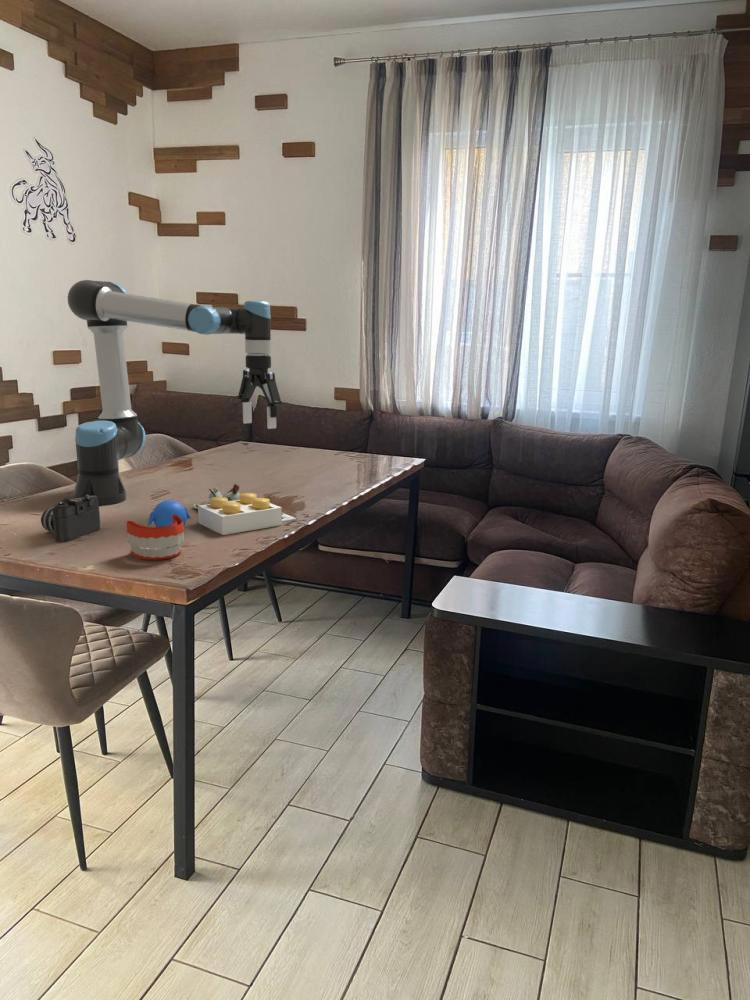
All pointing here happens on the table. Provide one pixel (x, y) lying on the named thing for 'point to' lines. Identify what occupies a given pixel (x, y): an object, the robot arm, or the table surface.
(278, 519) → the button board
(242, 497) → the button far right
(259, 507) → the button near right
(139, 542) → the toy
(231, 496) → the toy dog
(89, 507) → the camera
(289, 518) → the card
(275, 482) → the table surface
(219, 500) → the button far left
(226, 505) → the button near left
